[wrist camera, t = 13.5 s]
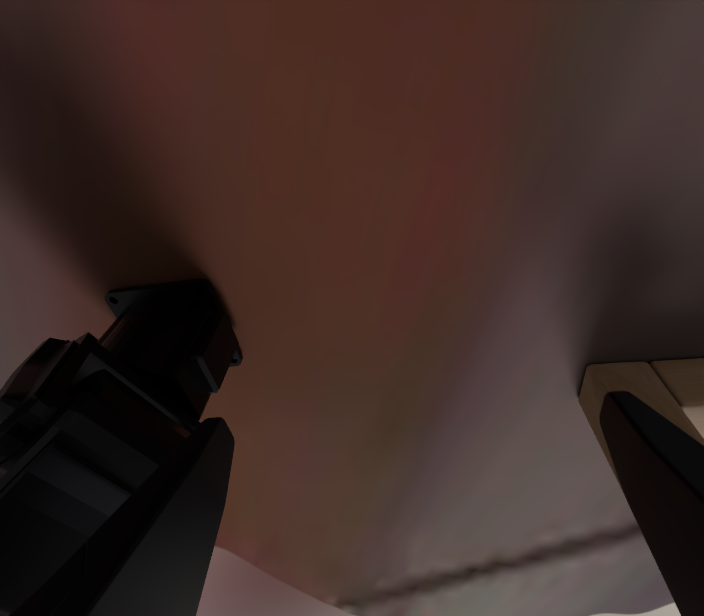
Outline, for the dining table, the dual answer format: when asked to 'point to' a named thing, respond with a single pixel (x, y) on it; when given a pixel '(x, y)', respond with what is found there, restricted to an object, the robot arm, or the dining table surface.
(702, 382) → the wooden block
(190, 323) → the robot arm
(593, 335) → the dining table surface
